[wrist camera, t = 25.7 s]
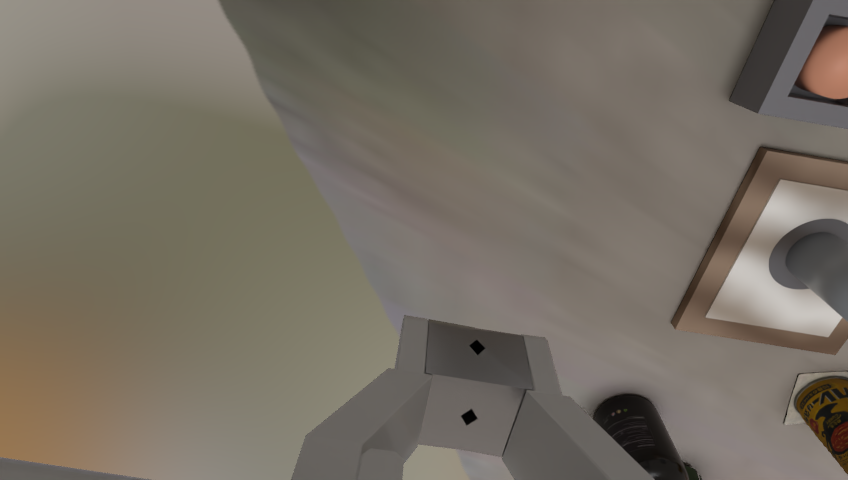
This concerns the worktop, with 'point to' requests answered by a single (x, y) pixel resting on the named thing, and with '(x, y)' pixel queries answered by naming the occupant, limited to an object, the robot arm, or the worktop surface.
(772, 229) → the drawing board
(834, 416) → the condiment
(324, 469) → the robot arm
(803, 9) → the button box
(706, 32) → the worktop surface
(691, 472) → the character mug
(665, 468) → the supplement bottle
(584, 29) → the worktop surface
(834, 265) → the grey cylinder
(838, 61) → the button
